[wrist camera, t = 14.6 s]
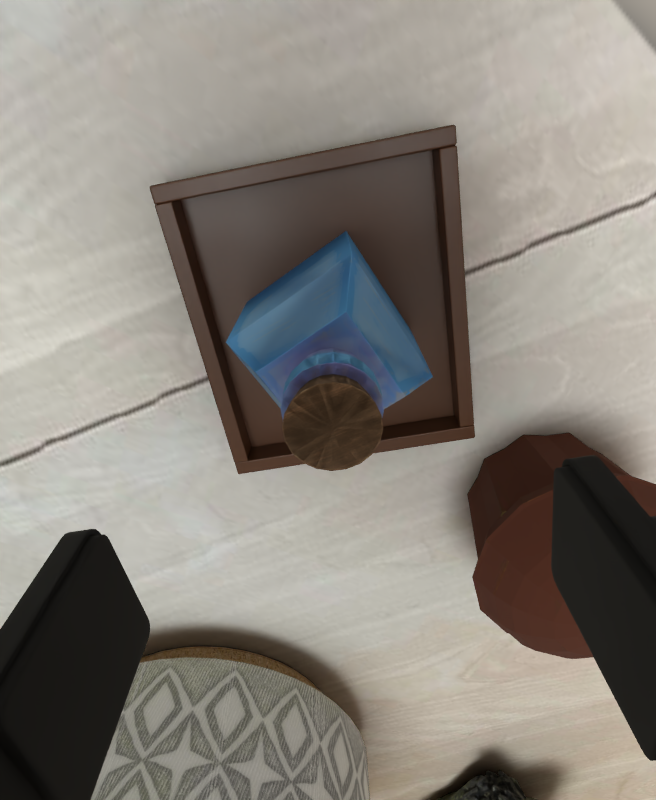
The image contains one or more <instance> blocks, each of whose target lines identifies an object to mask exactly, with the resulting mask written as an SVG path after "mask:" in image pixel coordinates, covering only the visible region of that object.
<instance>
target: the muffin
mask: <svg viewBox="0 0 656 800" xmlns="http://www.w3.org/2000/svg"><path fill="white" fill-rule="evenodd" d="M589 455H596V456H598V457H599V458H600V459H601V460H602V461H603V463H604V464H605V465H606V466H607V467H608V468H609V470H610V471H611V472H612V473H613V474H614V475H615V476H616V478H617V479H618V480H619V481H620V482H621V483H622V485H623V486H624V487H625V488H626V489H627V490H628V491H629V493H630V494H631V495H632V496H633V497H634V498H635V500H636V501H637V502H638V503H639V504H640V505H641V506H642V508H643V509H644V510H645V511H646V512H647V513H648V515H649V516H650V517H651V516H656V484H653V483H650V482H647V481H644V480H641V479H638V478H635V477H632V476H630V475H629V474H628V473H626V472H625V471H624V470H622V469H621V468H620V467H618V466H617V465H616V464H614V463H613V462H612V461H610V460H609V459H608V458H606V457H605V456H604V455H602V454H601V453H599V452H597V451H595V450H593V449H591V448H589V447H588V446H586V445H585V444H584V443H582V442H581V441H580V440H578V439H577V438H576V437H574V436H573V435H572V434H570V433H563V434H555V435H548V436H541V435H523V436H521V437H520V438H518V439H517V440H516V441H514V442H513V443H512V444H510V445H509V446H507V447H506V448H505V449H503V450H501V451H499V452H497V453H495V454H493V455H491V456H489V457H487V458H485V459H484V461H483V464H482V467H481V469H480V472H479V475H478V478H477V479H476V481H475V483H474V484H473V486H472V487H471V489H470V491H469V492H468V500H469V506H470V512H471V519H472V525H473V531H474V538H475V544H476V550H477V556H478V561H477V564H476V567H475V571H474V574H473V581H474V585H475V589H476V593H477V598H478V602H479V606H480V610H481V611H482V612H484V613H485V614H486V615H487V616H488V617H489V618H490V619H492V620H493V621H494V622H495V623H496V624H497V625H498V626H500V627H501V628H502V629H503V630H504V631H505V632H506V633H510V634H511V635H512V636H513V637H514V638H515V639H516V640H518V641H519V642H520V643H521V644H522V645H524V646H526V647H529V648H531V649H533V650H535V651H540V652H544V653H548V654H552V655H556V656H560V657H564V658H571V659H578V658H589V657H593V655H592V653H591V651H590V649H589V647H588V645H587V643H586V641H585V640H584V638H583V636H582V634H581V632H580V630H579V628H578V626H577V624H576V622H575V620H574V618H573V616H572V615H571V613H570V611H569V609H568V607H567V605H566V603H565V601H564V599H563V597H562V595H561V593H560V591H559V590H558V588H557V586H556V583H555V581H554V578H553V574H552V569H551V556H552V519H553V483H554V470H555V468H559V467H562V463H563V461H564V460H565V459H569V458H576V457H582V456H589Z"/></svg>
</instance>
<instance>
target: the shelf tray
mask: <svg viewBox="0 0 656 800" xmlns="http://www.w3.org/2000/svg"><path fill="white" fill-rule="evenodd" d="M456 143H457V139H456V126H455V125H449V126H444V127H439V128H434V129H429V130H424V131H419V132H414V133H409V134H404V135H399V136H394V137H390V138H385V139H380V140H375V141H370V142H365V143H360V144H355V145H350V146H345V147H340V148H335V149H330V150H325V151H320V152H315V153H310V154H305V155H300V156H295V157H291V158H286V159H281V160H276V161H271V162H266V163H261V164H256V165H251V166H246V167H241V168H236V169H231V170H226V171H221V172H216V173H211V174H206V175H201V176H196V177H192V178H187V179H182V180H177V181H172V182H167V183H162V184H157V185H152V186H150V191H151V194H152V197H153V200H154V203H155V204H157V205H155V208H156V211H157V214H158V217H159V221H160V224H161V227H162V230H163V234H164V237H165V240H166V243H167V246H168V250H169V253H170V256H171V259H172V262H173V266H174V269H175V272H176V275H177V279H178V282H179V285H180V288H181V291H182V295H183V298H184V301H185V304H186V307H187V311H188V314H189V317H190V320H191V324H192V327H193V330H194V333H195V336H196V340H197V343H198V346H199V349H200V352H201V356H202V359H203V362H204V365H205V369H206V372H207V375H208V378H209V381H210V385H211V388H212V391H213V394H214V397H215V401H216V404H217V407H218V410H219V414H220V417H221V420H222V423H223V426H224V430H225V433H226V436H227V439H228V442H229V446H230V449H231V452H232V455H233V459H234V462H235V465H236V468H237V471H238V474H242V473H249V472H255V471H262V470H268V469H274V468H281V467H287V466H294V465H300V464H305V463H303V462H302V461H301V460H299V459H298V458H297V457H296V456H295V455H294V454H292V452H291V451H290V449H289V447H288V446H287V444H286V443H285V440H284V435H283V430H282V424H283V419H282V414H281V408H280V407H279V406H278V405H277V404H276V402H275V401H274V400H273V399H272V398H271V396H270V395H269V394H268V393H267V392H266V390H265V389H264V388H263V387H262V386H261V384H260V383H259V382H258V381H257V379H256V378H255V377H254V376H253V375H252V373H251V372H250V371H249V370H248V369H247V367H246V366H245V365H244V364H243V363H242V361H241V360H240V359H239V358H238V357H237V355H236V354H235V353H234V352H233V350H232V349H231V348H230V347H229V346H228V344H227V343H226V341H227V339H228V337H229V335H230V333H231V331H232V329H233V327H234V326H235V324H236V322H237V320H238V318H239V316H240V314H241V312H242V310H243V309H244V307H245V305H246V303H247V302H248V301H249V300H250V299H252V298H253V297H255V296H256V295H257V294H259V293H260V292H262V291H263V290H264V289H266V288H267V287H268V286H270V285H271V284H273V283H274V282H275V281H277V280H278V279H280V278H281V277H282V276H284V275H285V274H287V273H288V272H289V271H291V270H292V269H294V268H295V267H296V266H298V265H299V264H300V263H302V262H303V261H305V260H306V259H307V258H309V257H310V256H312V255H313V254H314V253H316V252H317V251H319V250H320V249H321V248H323V247H324V246H326V245H327V244H328V243H330V242H331V241H332V240H334V239H335V238H337V237H338V236H339V235H341V234H342V233H344V232H345V231H347V233H348V234H349V236H350V237H351V239H352V240H353V242H354V244H355V245H356V247H357V248H358V250H359V251H360V253H361V254H362V256H363V257H364V259H365V261H366V262H367V264H368V265H369V267H370V268H371V270H372V271H373V273H374V274H375V276H376V277H377V279H378V281H379V282H380V284H381V285H382V287H383V288H384V290H385V291H386V293H387V294H388V296H389V297H390V299H391V301H392V302H393V304H394V305H395V307H396V308H397V310H398V311H399V313H400V314H401V316H402V318H403V319H404V321H405V322H406V324H407V325H408V327H409V328H410V330H411V332H412V334H413V336H414V338H415V340H416V342H417V344H418V346H419V349H420V351H421V353H422V355H423V357H424V359H425V361H426V363H427V365H428V367H429V370H430V372H431V374H432V376H433V377H432V378H431V379H429V380H428V381H426V382H425V383H424V384H422V385H421V386H419V387H418V388H417V389H415V390H414V391H412V392H411V393H410V394H408V395H407V396H405V397H404V398H402V399H400V400H399V401H397V402H395V403H394V404H392V405H390V406H389V407H387V408H385V409H384V413H383V416H382V422H383V432H382V436H381V440H380V443H379V445H378V446H377V448H376V449H375V450H374V452H373V453H378V452H385V451H391V450H398V449H404V448H411V447H417V446H424V445H430V444H437V443H443V442H449V441H456V440H462V439H469V438H474V437H475V431H474V417H473V401H472V384H471V368H470V352H469V335H468V319H467V303H466V286H465V270H464V254H463V237H462V221H461V205H460V188H459V172H458V156H457V146H455V145H456Z"/></svg>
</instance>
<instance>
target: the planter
mask: <svg viewBox="0 0 656 800" xmlns="http://www.w3.org/2000/svg"><path fill="white" fill-rule="evenodd" d="M91 800H370V793H369V778H368V763H367V754H366V747H365V744H364V742H363V739H362V736H361V734H360V732H359V730H358V729H357V727H356V726H355V724H354V723H353V721H352V720H351V718H350V717H349V716H348V715H347V714H346V713H345V712H344V711H343V710H342V709H341V708H340V707H339V706H338V705H337V704H336V703H335V702H334V701H332V700H331V699H329V698H328V697H327V696H325V695H324V694H322V693H321V691H320V690H319V689H318V688H317V687H316V686H315V685H314V684H313V683H312V682H311V681H310V680H308V679H307V678H305V677H304V676H303V675H301V674H300V673H299V672H297V671H296V670H294V669H292V668H290V667H288V666H286V665H285V664H283V663H281V662H278V661H276V660H273V659H271V658H268V657H265V656H263V655H259V654H255V653H252V652H248V651H244V650H238V649H231V648H224V647H206V646H198V647H184V648H176V649H171V650H165V651H161V652H157V653H154V654H151V655H148V656H145V657H142V658H141V660H140V663H139V666H138V669H137V672H136V674H135V677H134V680H133V683H132V686H131V688H130V691H129V694H128V697H127V699H126V702H125V705H124V708H123V711H122V713H121V716H120V719H119V722H118V725H117V727H116V730H115V733H114V736H113V739H112V741H111V744H110V747H109V750H108V752H107V755H106V758H105V761H104V764H103V766H102V769H101V772H100V775H99V778H98V780H97V783H96V786H95V789H94V792H93V794H92V797H91Z"/></svg>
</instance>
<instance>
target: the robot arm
mask: <svg viewBox="0 0 656 800" xmlns="http://www.w3.org/2000/svg"><path fill="white" fill-rule="evenodd" d="M551 569H552V574H553V578H554V581H555V583H556V586H557V588H558V590H559V591H560V593H561V595H562V597H563V599H564V601H565V603H566V605H567V607H568V609H569V611H570V613H571V615H572V616H573V618H574V620H575V622H576V624H577V626H578V628H579V630H580V632H581V634H582V636H583V638H584V640H585V641H586V643H587V645H588V647H589V649H590V651H591V653H592V655H593V657H594V659H595V661H596V663H597V664H598V666H599V668H600V670H601V672H602V674H603V676H604V678H605V680H606V682H607V684H608V686H609V688H610V689H611V691H612V693H613V695H614V697H615V699H616V701H617V703H618V705H619V707H620V709H621V711H622V713H623V714H624V716H625V718H626V720H627V722H628V724H629V726H630V728H631V730H632V732H633V734H634V736H635V738H636V739H637V741H638V743H639V745H640V747H641V749H642V751H643V752H644V754H645V755H646V757H647V758H648V759H649V760H651V761H653V760H656V516H651V517H650V516H649V515H648V513H647V512H646V511H645V510H644V509H643V508H642V506H641V505H640V504H639V503H638V502H637V501H636V500H635V498H634V497H633V496H632V495H631V494H630V493H629V491H628V490H627V489H626V488H625V487H624V486H623V485H622V483H621V482H620V481H619V480H618V479H617V478H616V476H615V475H614V474H613V473H612V472H611V471H610V470H609V468H608V467H607V466H606V465H605V464H604V463H603V461H602V460H601V459H600V458H599V457H598V456H596V455H589V456H582V457H576V458H569V459H565V460H564V461H563V463H562V467H559V468H555V470H554V483H553V519H552V556H551ZM149 633H150V624H149V620H148V617H147V615H146V613H145V611H144V609H143V607H142V605H141V603H140V601H139V599H138V597H137V595H136V593H135V591H134V589H133V587H132V585H131V583H130V581H129V579H128V577H127V575H126V573H125V571H124V569H123V567H122V565H121V563H120V561H119V559H118V557H117V555H116V553H115V551H114V549H113V547H112V545H111V542H110V540H109V539H108V537H107V536H106V535H101V534H100V532H99V531H97V530H96V529H89V530H83V531H76V532H69V533H67V534H65V535H64V536H63V537H62V538H61V540H60V541H59V543H58V544H57V546H56V547H55V548H54V550H53V551H52V553H51V554H50V556H49V557H48V559H47V560H46V562H45V563H44V565H43V566H42V568H41V569H40V571H39V572H38V574H37V575H36V577H35V578H34V580H33V581H32V583H31V584H30V586H29V587H28V589H27V590H26V592H25V593H24V595H23V596H22V598H21V599H20V601H19V602H18V604H17V605H16V607H15V608H14V610H13V611H12V613H11V614H10V616H9V617H8V619H7V620H6V622H5V623H4V625H3V626H2V628H1V629H0V800H91V797H92V794H93V792H94V789H95V786H96V783H97V780H98V778H99V775H100V772H101V769H102V766H103V764H104V761H105V758H106V755H107V752H108V750H109V747H110V744H111V741H112V739H113V736H114V733H115V730H116V727H117V725H118V722H119V719H120V716H121V713H122V711H123V708H124V705H125V702H126V699H127V697H128V694H129V691H130V688H131V686H132V683H133V680H134V677H135V674H136V672H137V669H138V666H139V663H140V660H141V658H142V655H143V652H144V649H145V646H146V644H147V641H148V638H149Z"/></svg>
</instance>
